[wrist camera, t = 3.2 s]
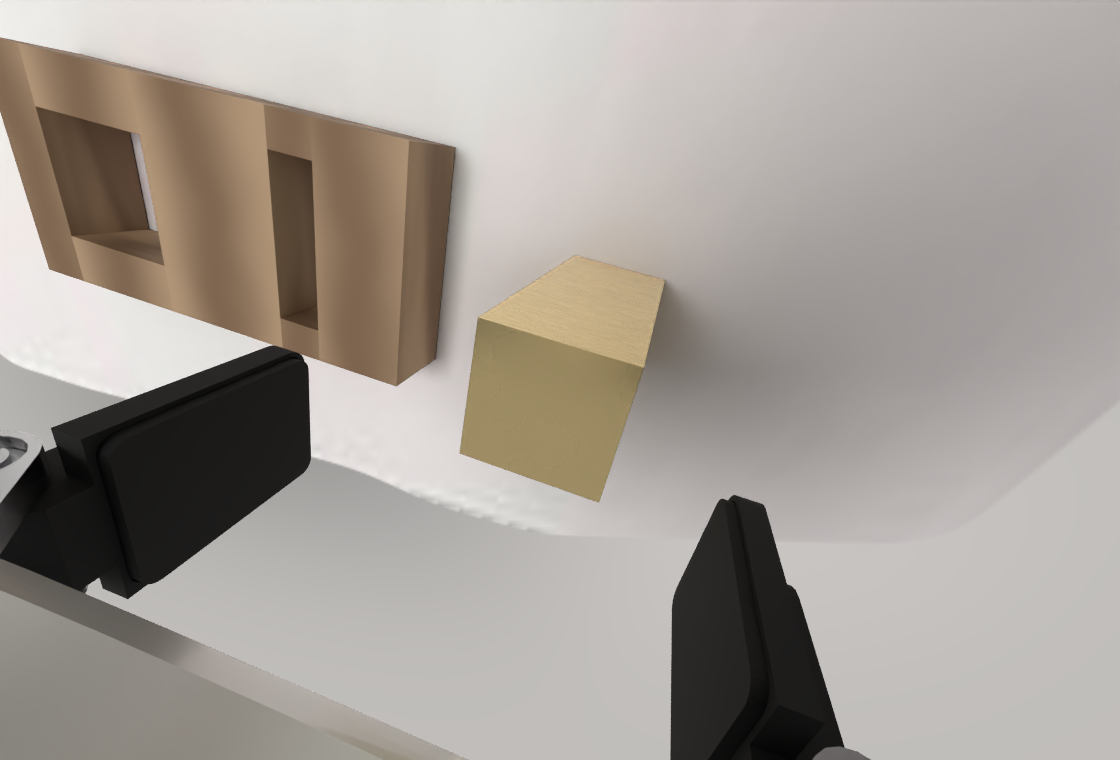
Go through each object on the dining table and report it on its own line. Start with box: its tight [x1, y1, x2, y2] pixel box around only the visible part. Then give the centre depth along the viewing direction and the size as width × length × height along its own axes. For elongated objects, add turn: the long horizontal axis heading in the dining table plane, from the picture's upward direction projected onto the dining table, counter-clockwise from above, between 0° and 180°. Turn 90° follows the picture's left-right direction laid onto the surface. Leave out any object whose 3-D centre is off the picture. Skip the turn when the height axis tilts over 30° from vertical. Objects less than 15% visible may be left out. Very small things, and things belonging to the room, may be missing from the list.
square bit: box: [460, 255, 665, 502], centre depth 15 cm, size 4×4×10 cm
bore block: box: [0, 38, 455, 386], centre depth 21 cm, size 20×10×4 cm, turn 77°
